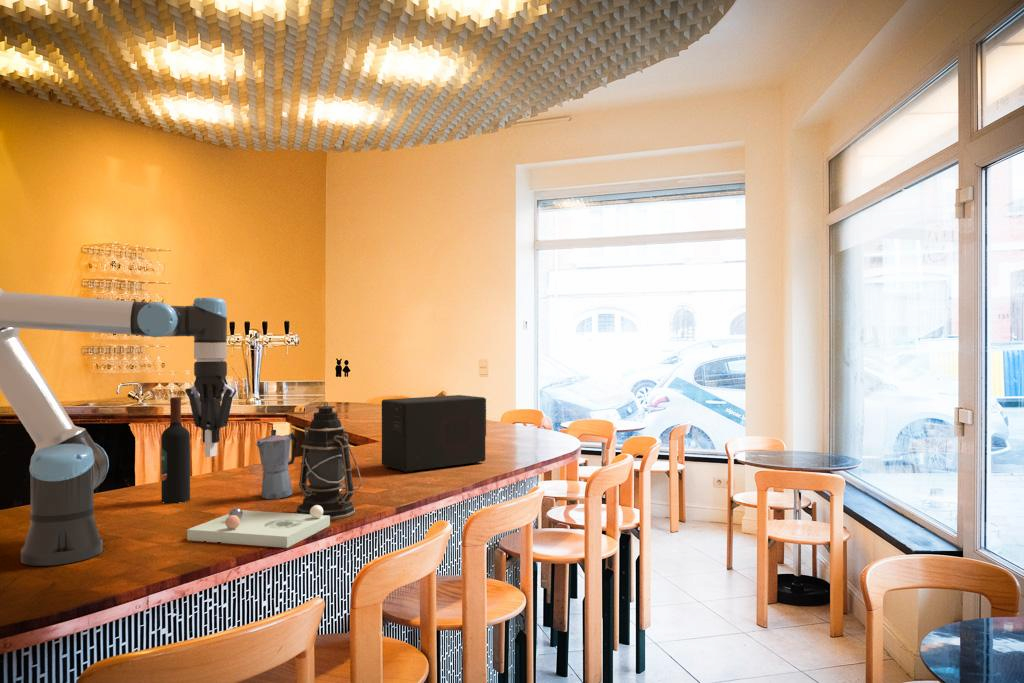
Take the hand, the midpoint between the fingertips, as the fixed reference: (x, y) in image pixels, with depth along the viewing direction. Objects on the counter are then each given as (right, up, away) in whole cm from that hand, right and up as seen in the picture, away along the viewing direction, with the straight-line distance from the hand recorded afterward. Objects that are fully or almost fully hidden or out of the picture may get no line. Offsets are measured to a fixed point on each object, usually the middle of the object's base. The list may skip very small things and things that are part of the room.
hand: (211, 455), depth 180 cm
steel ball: (+7, -14, -2) cm, 16 cm away
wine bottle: (-23, -18, +31) cm, 43 cm away
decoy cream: (+26, -14, +1) cm, 29 cm away
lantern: (+24, -18, +16) cm, 34 cm away
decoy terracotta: (+9, -14, -9) cm, 19 cm away
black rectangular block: (+45, -18, +92) cm, 104 cm away
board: (+13, -18, -3) cm, 23 cm away
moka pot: (+4, -18, +38) cm, 42 cm away
